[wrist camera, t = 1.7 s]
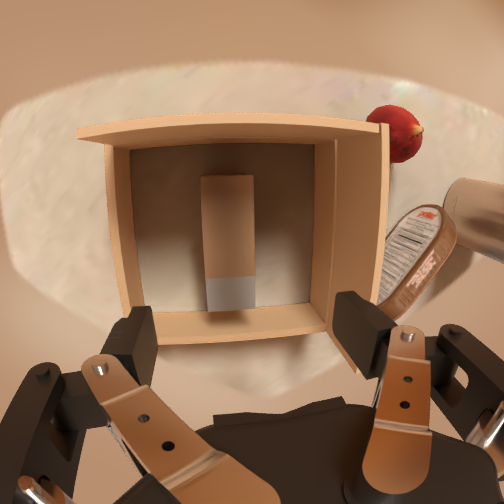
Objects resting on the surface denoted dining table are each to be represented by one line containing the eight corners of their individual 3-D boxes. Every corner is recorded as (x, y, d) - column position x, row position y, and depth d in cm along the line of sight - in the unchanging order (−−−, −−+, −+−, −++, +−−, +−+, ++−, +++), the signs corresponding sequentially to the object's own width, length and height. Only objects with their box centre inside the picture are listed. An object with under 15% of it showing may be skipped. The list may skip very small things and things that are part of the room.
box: (244, 173, 27) (253, 175, 22) (246, 282, 30) (255, 308, 25) (202, 175, 27) (200, 177, 21) (207, 284, 30) (207, 311, 24)
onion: (386, 170, 29) (433, 175, 21) (344, 148, 28) (386, 145, 20) (399, 125, 28) (447, 120, 20) (359, 101, 26) (402, 86, 19)
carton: (321, 137, 27) (388, 123, 16) (315, 308, 32) (362, 372, 21) (121, 142, 25) (65, 129, 13) (140, 319, 30) (113, 393, 18)
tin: (349, 306, 33) (384, 343, 25) (333, 292, 32) (367, 329, 24) (424, 212, 31) (472, 227, 23) (411, 194, 30) (461, 206, 22)
